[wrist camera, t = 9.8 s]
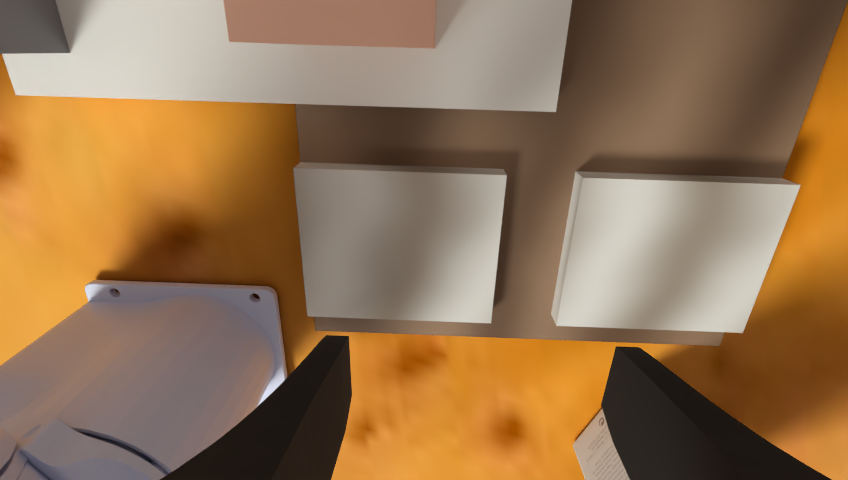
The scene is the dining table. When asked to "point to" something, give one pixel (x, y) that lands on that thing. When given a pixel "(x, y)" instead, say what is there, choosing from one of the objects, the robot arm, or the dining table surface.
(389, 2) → the block
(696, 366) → the dining table surface
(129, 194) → the dining table surface
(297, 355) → the dining table surface
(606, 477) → the small box
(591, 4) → the board
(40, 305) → the dining table surface
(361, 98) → the white tray
